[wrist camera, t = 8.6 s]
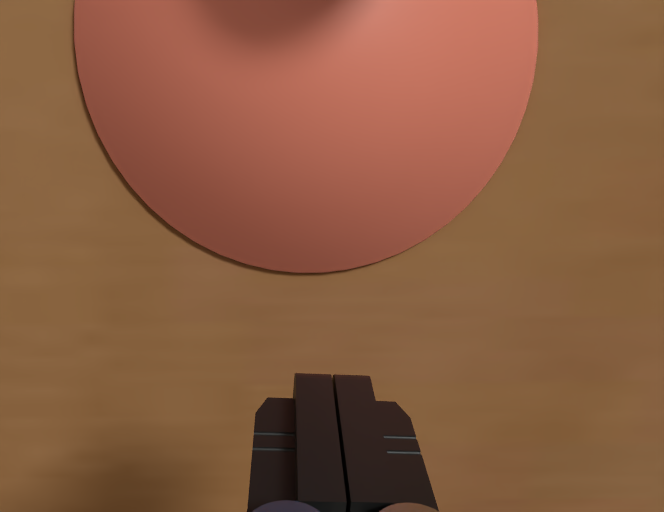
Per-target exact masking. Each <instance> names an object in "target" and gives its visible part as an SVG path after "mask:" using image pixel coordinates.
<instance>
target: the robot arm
mask: <svg viewBox="0 0 664 512" xmlns="http://www.w3.org/2000/svg"><path fill="white" fill-rule="evenodd" d="M247 512H439V510H438V507H437V504H436V500H435V497H434V494H433V490H432V487H431V484H430V481H429V477H428V474H427V471H426V468H425V464H424V461H423V458H422V455H420V448H419V445H418V442H417V440H416V435H415V432H414V428H413V425H412V422H411V419H410V417H409V416H408V415H407V414H406V413H405V412H404V411H403V410H402V409H401V407H400V406H399V405H398V404H397V403H396V402H387V401H376V400H375V396H374V392H373V387H372V383H371V379H370V376H359V375H333V378H332V377H331V375H329V374H302V373H295V378H294V390H293V398H267V399H266V400H265V402H264V403H263V404H262V406H261V407H260V408H259V409H258V411H257V412H256V414H255V426H254V438H253V451H252V462H251V474H250V486H249V498H248V509H247Z"/></svg>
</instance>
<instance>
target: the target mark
mask: <svg viewBox="0 0 664 512" xmlns="http://www.w3.org/2000/svg"><path fill="white" fill-rule="evenodd" d="M74 43H75V51H76V59H77V67H78V74H79V78H80V82H81V86H82V90H83V94H84V98H85V102H86V105H87V108H88V110H89V113H90V116H91V118H92V121H93V123H94V126H95V128H96V131H97V134H98V135H99V137H100V139H101V141H102V143H103V145H104V147H105V148H106V150H107V152H108V154H109V156H110V158H111V160H112V161H113V163H114V164H115V165H116V167H117V168H118V170H119V171H120V173H121V174H122V175H123V177H124V178H125V180H126V181H127V182H128V184H129V185H130V186H131V187H132V189H133V190H134V191H135V192H136V193H137V194H138V195H139V196H140V197H141V198H142V200H143V201H144V202H145V203H146V204H147V205H148V206H149V207H150V208H151V209H152V210H153V211H154V212H156V213H157V214H158V215H159V216H160V217H161V218H162V219H164V220H165V221H166V222H167V223H168V224H169V225H171V226H172V227H173V228H175V229H176V230H178V231H179V232H181V233H182V234H184V235H185V236H187V237H188V238H190V239H191V240H193V241H194V242H196V243H198V244H200V245H202V246H204V247H206V248H208V249H210V250H212V251H214V252H216V253H218V254H220V255H222V256H225V257H228V258H231V259H233V260H236V261H239V262H242V263H244V264H248V265H252V266H257V267H261V268H265V269H270V270H277V271H286V272H295V273H320V272H331V271H339V270H346V269H352V268H356V267H360V266H364V265H368V264H372V263H375V262H378V261H381V260H383V259H386V258H388V257H391V256H394V255H396V254H399V253H401V252H403V251H405V250H407V249H409V248H410V247H412V246H414V245H416V244H418V243H420V242H422V241H424V240H425V239H427V238H428V237H429V236H431V235H432V234H434V233H435V232H437V231H438V230H439V229H441V228H442V227H444V226H445V225H447V224H448V223H449V222H450V221H451V220H452V219H453V218H454V217H456V216H457V215H458V214H459V213H460V212H461V211H462V210H463V209H465V208H466V207H467V206H468V205H469V203H470V202H471V201H472V200H473V199H474V198H475V197H476V196H477V194H478V193H479V192H480V191H481V190H482V189H483V188H484V186H485V185H486V184H487V183H488V181H489V180H490V178H491V177H492V175H493V174H494V172H495V171H496V170H497V168H498V167H499V165H500V164H501V162H502V161H503V159H504V157H505V155H506V153H507V151H508V149H509V147H510V146H511V144H512V142H513V140H514V138H515V136H516V134H517V131H518V128H519V126H520V123H521V121H522V118H523V115H524V113H525V110H526V107H527V103H528V100H529V96H530V92H531V88H532V84H533V80H534V73H535V66H536V58H537V51H538V11H537V2H536V0H75V6H74Z"/></svg>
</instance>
